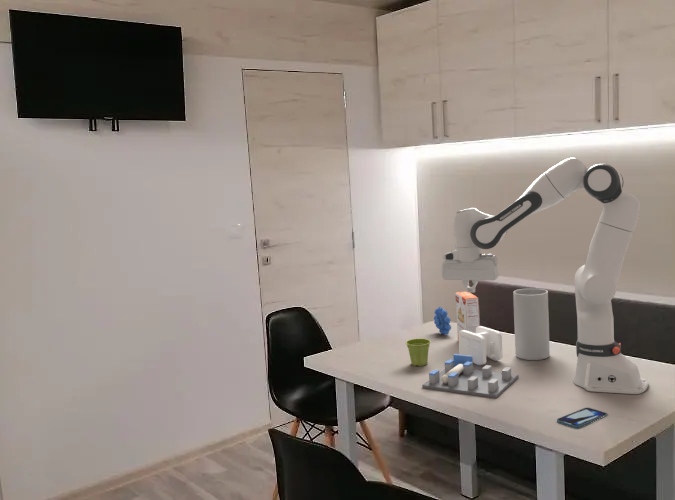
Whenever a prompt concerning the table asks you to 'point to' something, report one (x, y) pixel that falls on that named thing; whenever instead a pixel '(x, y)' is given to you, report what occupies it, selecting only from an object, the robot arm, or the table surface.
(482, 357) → the cable organizer
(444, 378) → the white capsule
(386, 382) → the table surface
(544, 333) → the cylinder vase
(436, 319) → the grapes
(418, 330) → the table surface
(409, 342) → the plant pot
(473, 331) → the cracker box
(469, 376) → the grey peg board
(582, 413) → the smartphone
